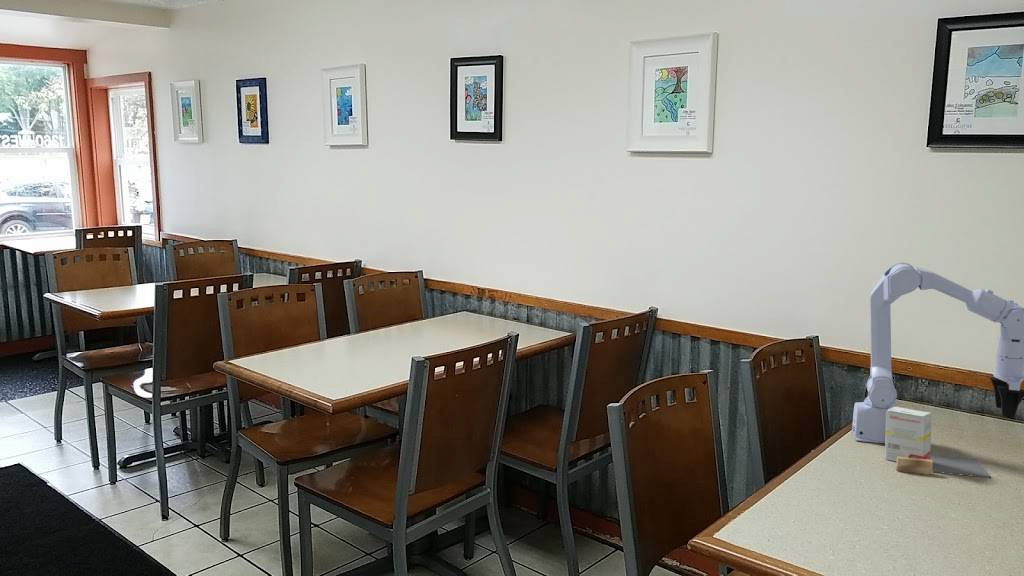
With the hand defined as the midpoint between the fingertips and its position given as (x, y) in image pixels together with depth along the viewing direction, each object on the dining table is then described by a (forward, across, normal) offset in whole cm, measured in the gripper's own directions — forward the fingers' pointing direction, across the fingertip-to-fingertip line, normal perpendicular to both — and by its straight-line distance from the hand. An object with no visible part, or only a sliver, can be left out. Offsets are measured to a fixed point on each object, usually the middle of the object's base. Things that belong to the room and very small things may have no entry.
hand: (1004, 412), depth 184 cm
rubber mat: (+10, -14, +11) cm, 21 cm away
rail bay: (+10, -15, +21) cm, 28 cm away
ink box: (+10, -15, +21) cm, 28 cm away
